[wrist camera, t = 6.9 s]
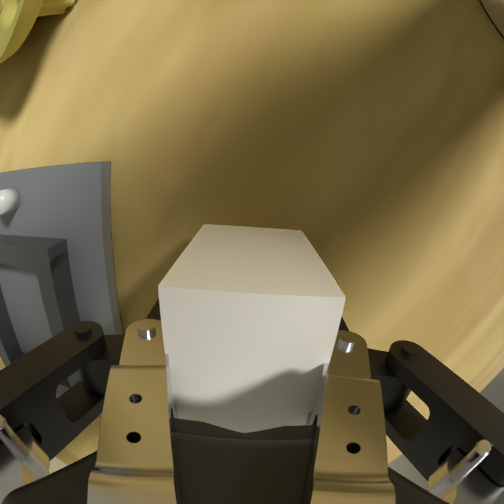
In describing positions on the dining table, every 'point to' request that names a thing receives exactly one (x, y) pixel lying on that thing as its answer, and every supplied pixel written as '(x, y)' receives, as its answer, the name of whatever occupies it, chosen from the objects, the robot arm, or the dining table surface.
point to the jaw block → (248, 327)
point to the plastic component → (23, 20)
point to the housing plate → (55, 256)
